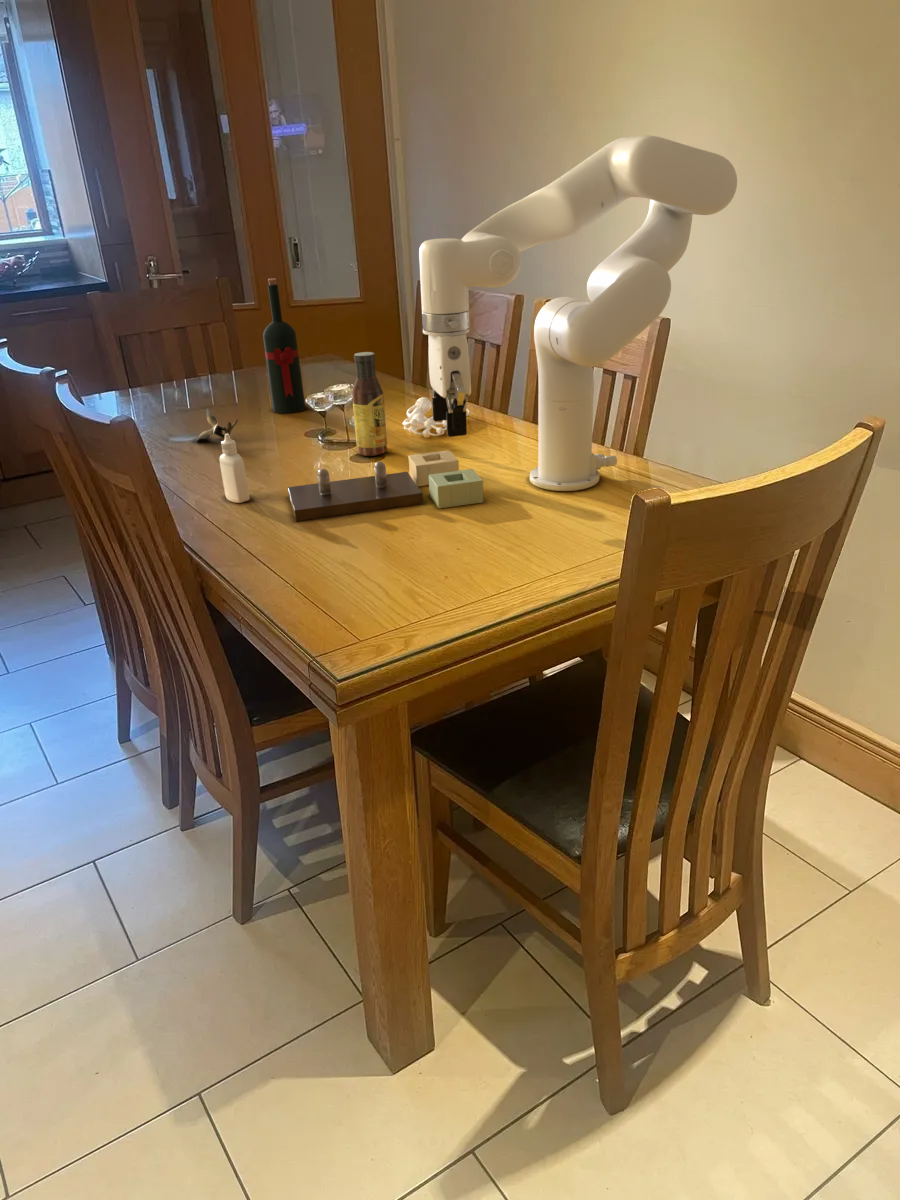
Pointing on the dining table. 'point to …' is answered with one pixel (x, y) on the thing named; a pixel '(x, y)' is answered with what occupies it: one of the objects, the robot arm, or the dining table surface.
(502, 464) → the dining table surface
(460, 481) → the green block with hole
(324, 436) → the dining table surface
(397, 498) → the peg board base
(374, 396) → the sauce bottle
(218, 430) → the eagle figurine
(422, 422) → the tangled rod sculpture
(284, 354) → the wine bottle
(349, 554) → the dining table surface
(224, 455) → the eye dropper bottle
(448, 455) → the beige block with hole
